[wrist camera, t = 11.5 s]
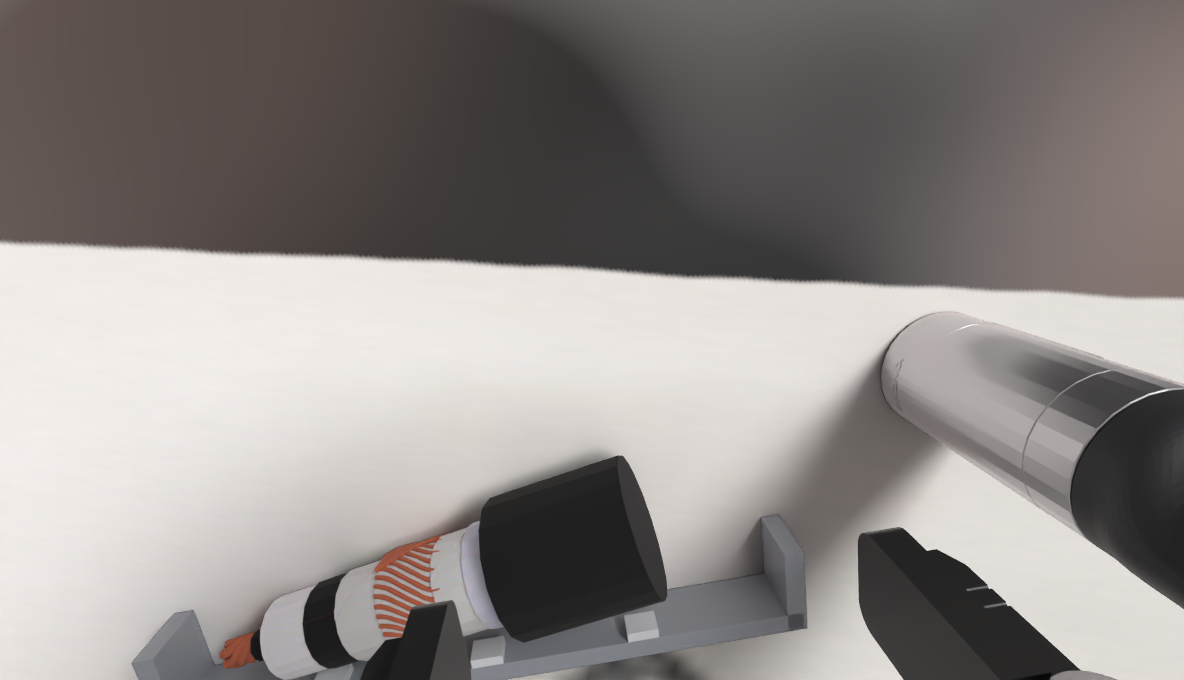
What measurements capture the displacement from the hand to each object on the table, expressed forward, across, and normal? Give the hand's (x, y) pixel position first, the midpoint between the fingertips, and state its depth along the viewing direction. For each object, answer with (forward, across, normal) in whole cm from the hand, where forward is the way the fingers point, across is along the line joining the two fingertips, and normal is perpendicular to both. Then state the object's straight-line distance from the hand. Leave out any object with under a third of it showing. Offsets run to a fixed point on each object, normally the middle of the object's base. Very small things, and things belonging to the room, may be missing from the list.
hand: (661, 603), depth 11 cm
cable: (+32, +14, +20) cm, 41 cm away
